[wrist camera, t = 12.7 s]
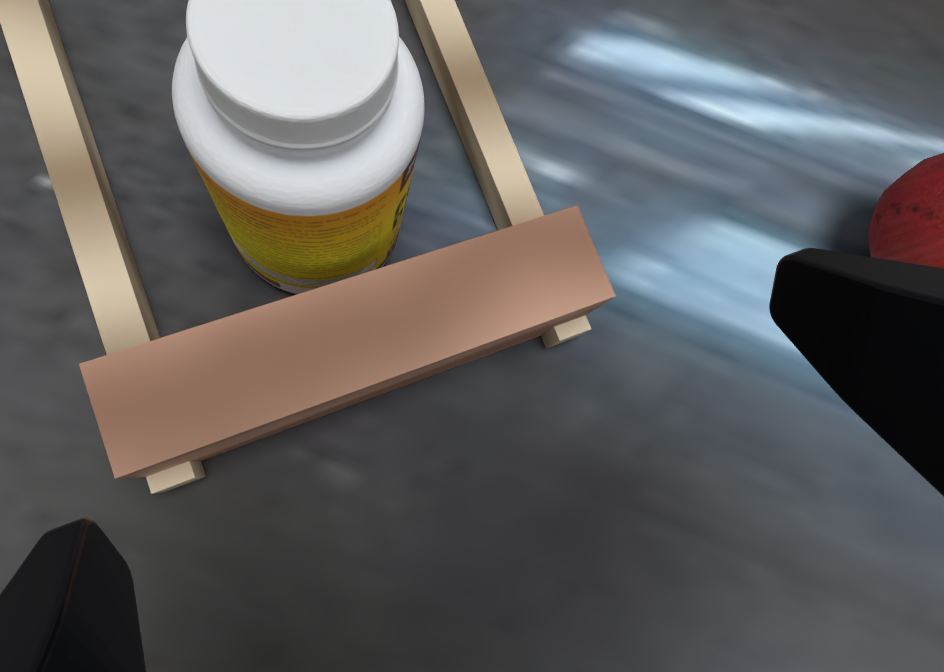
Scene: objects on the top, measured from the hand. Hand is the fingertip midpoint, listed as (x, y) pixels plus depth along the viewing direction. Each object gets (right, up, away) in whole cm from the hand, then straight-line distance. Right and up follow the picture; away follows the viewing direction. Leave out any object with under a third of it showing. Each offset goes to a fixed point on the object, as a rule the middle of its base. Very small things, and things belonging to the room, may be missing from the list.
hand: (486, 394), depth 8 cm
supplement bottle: (-6, +5, +14) cm, 16 cm away
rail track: (-6, +7, +14) cm, 17 cm away
